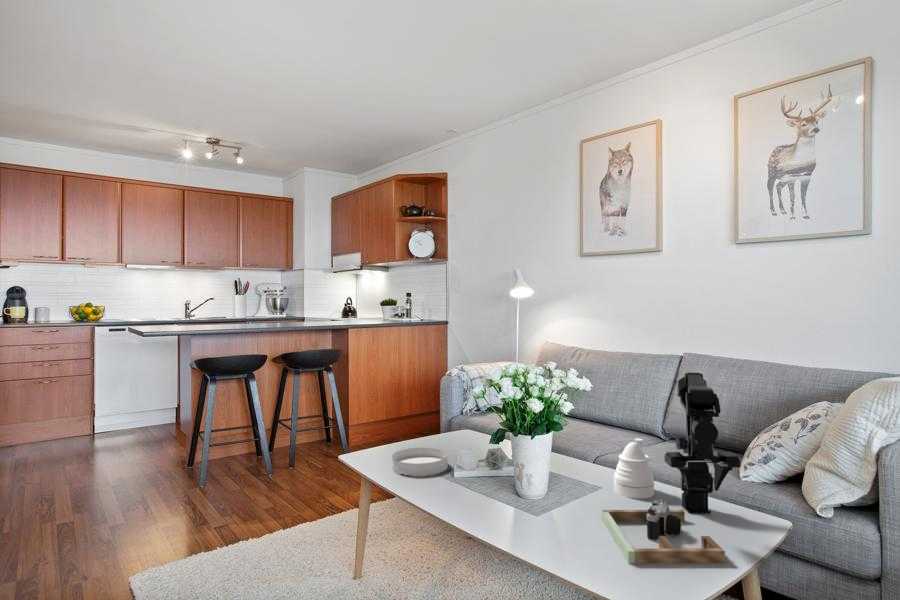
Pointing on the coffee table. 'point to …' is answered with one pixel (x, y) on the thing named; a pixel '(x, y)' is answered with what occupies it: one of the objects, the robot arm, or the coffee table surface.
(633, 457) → the honey pot
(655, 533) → the camera
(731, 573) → the coffee table surface
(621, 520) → the trap box
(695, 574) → the coffee table surface
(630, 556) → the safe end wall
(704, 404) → the robot arm
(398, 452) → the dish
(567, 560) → the coffee table surface
